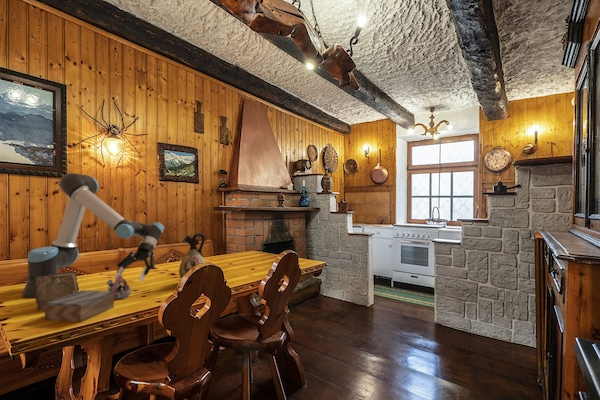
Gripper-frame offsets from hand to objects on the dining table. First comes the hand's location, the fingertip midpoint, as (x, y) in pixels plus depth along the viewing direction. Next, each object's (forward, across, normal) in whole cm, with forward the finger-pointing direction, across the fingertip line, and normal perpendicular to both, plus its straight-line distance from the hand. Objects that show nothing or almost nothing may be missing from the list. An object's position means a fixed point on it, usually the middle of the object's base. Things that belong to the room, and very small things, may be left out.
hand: (128, 279), depth 150 cm
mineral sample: (+20, +18, +9) cm, 29 cm away
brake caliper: (+8, +2, -3) cm, 9 cm away
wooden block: (+24, +1, +13) cm, 27 cm away
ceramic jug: (-12, -23, -24) cm, 35 cm away
